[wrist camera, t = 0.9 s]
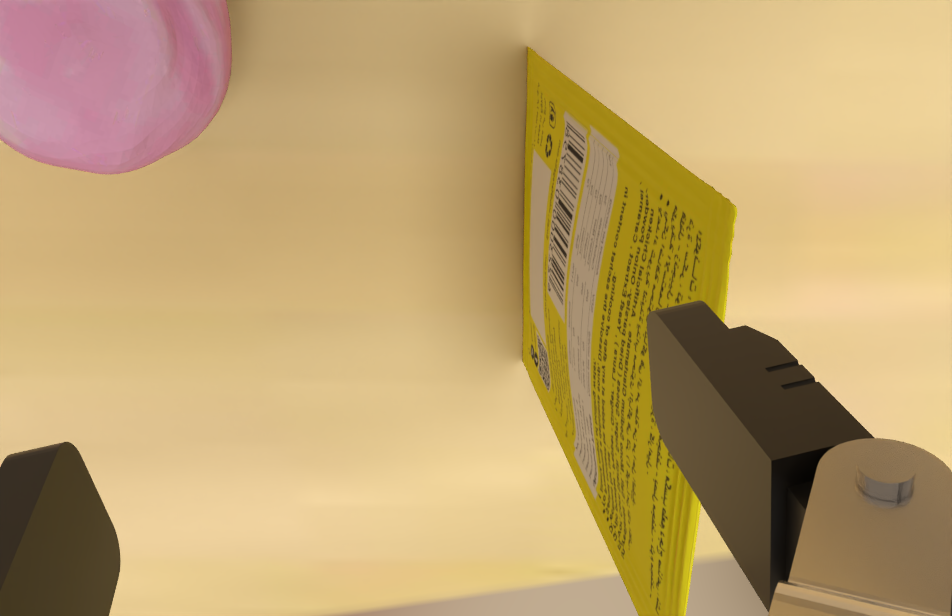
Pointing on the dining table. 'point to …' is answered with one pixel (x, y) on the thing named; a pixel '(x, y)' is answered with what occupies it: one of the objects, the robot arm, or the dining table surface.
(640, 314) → the food package
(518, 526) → the dining table surface
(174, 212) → the dining table surface
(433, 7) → the dining table surface
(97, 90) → the cupcake
